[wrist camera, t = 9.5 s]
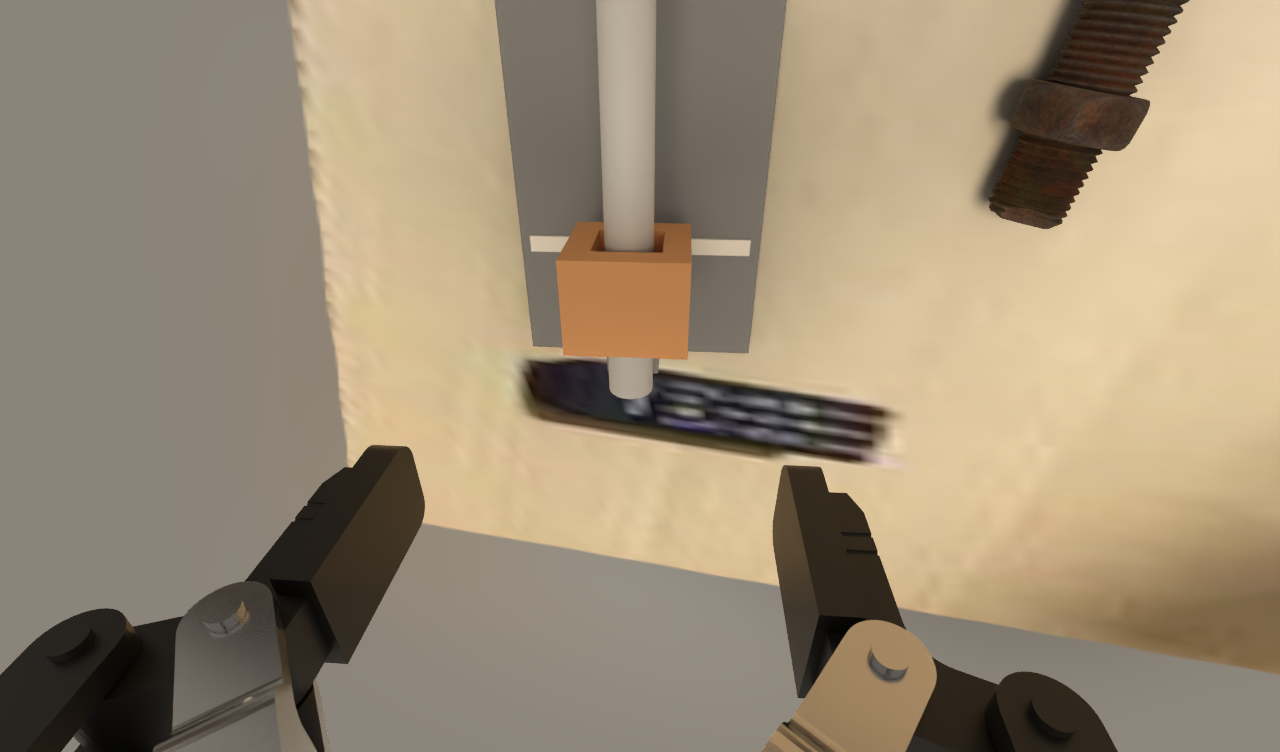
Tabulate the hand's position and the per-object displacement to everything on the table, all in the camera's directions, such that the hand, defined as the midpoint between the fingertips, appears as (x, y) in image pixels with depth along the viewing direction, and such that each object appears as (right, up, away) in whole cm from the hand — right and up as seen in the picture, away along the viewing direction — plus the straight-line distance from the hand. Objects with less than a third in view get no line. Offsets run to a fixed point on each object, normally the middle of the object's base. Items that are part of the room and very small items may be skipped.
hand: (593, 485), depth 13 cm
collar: (+1, +7, +14) cm, 16 cm away
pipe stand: (+1, +14, +15) cm, 21 cm away
